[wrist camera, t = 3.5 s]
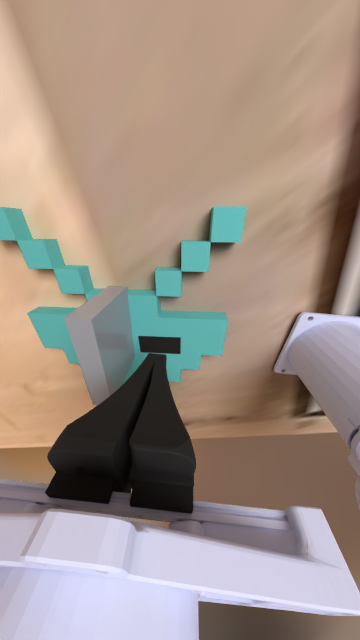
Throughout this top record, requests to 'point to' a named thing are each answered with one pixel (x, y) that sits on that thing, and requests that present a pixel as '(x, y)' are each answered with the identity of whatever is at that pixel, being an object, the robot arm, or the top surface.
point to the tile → (103, 341)
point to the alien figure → (135, 296)
